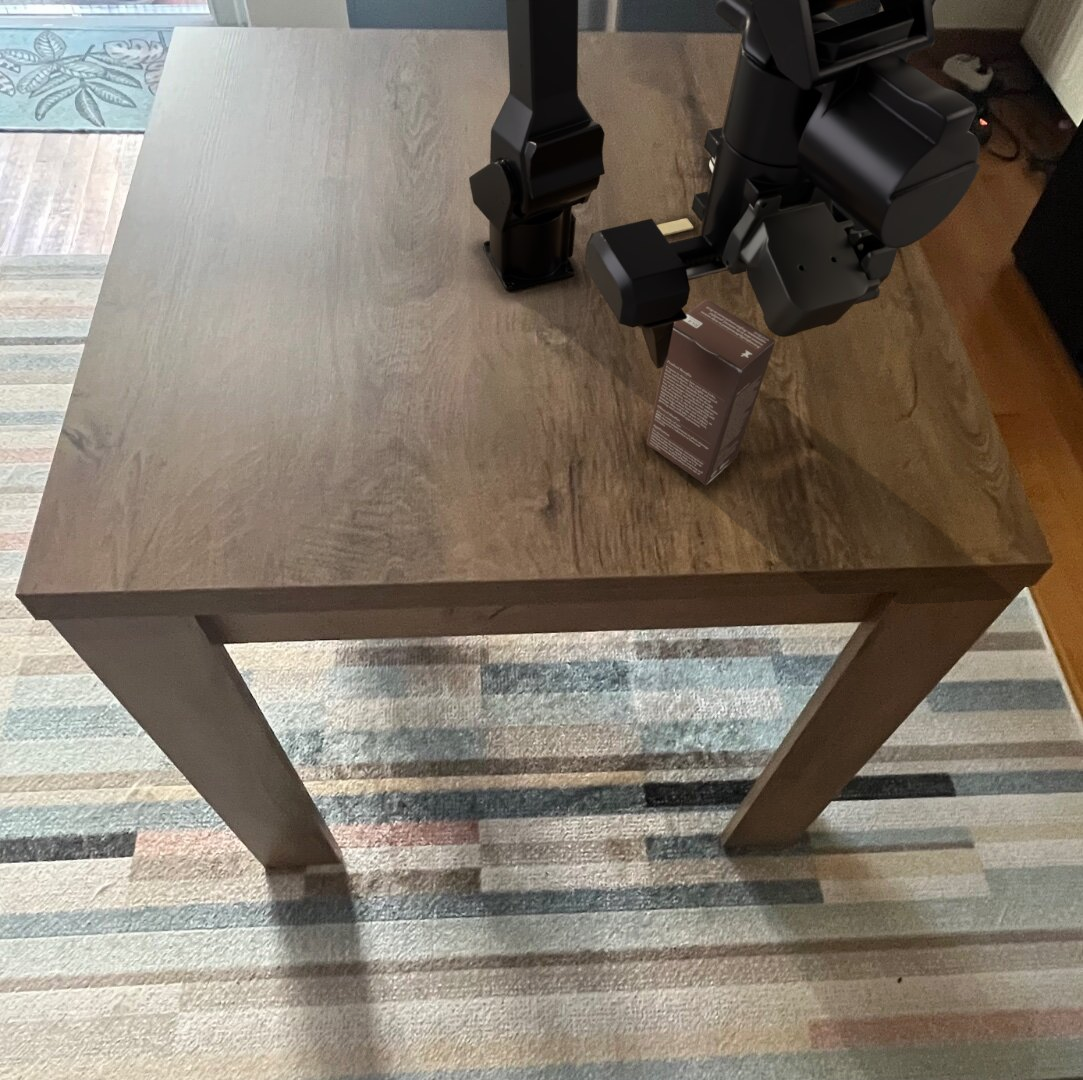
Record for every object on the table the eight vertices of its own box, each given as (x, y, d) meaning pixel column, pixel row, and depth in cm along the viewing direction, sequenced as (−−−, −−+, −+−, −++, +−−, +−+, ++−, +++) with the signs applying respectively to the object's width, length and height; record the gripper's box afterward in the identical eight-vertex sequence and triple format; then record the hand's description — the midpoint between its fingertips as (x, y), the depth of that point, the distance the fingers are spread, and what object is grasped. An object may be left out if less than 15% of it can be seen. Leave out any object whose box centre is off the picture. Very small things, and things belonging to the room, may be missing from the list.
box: (740, 454, 72) (779, 339, 62) (704, 488, 70) (739, 375, 60) (678, 412, 74) (707, 294, 64) (642, 443, 72) (665, 327, 62)
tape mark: (624, 245, 85) (624, 243, 85) (617, 235, 86) (618, 234, 85) (693, 229, 86) (693, 227, 86) (686, 219, 87) (686, 217, 87)
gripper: (687, 271, 44) (644, 475, 57) (1012, 189, 48) (902, 396, 61) (592, 135, 49) (572, 349, 62) (890, 73, 54) (814, 285, 67)
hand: (718, 346), depth 63 cm, fingers open, 9 cm apart
